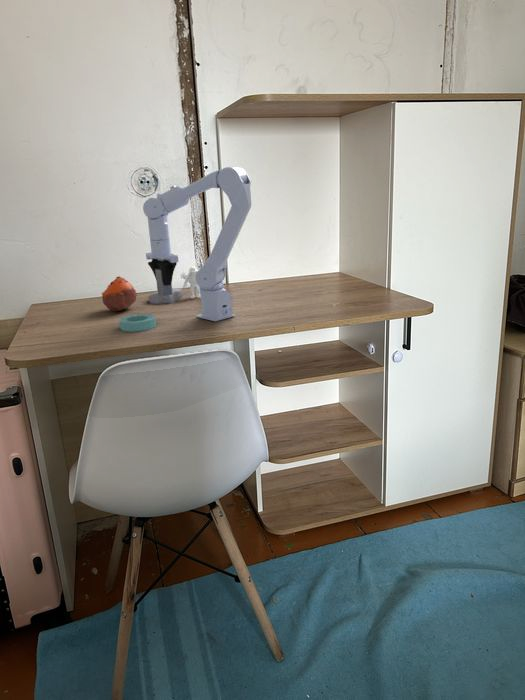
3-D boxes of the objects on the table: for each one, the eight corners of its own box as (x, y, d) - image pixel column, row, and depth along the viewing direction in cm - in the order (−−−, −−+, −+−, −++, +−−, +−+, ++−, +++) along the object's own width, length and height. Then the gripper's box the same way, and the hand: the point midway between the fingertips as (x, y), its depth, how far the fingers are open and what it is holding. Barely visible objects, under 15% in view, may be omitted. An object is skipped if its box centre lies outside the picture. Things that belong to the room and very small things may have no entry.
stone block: (148, 309, 188) (174, 303, 185) (144, 295, 187) (170, 289, 184) (160, 302, 199) (185, 297, 196) (157, 290, 198) (182, 284, 195)
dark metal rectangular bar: (172, 294, 166) (169, 268, 164) (163, 296, 164) (160, 270, 162) (166, 293, 169) (163, 267, 166) (158, 295, 166) (155, 269, 164)
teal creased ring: (162, 325, 157) (161, 317, 156) (132, 333, 151) (131, 324, 150) (144, 320, 164) (143, 312, 163) (114, 327, 158) (113, 319, 157)
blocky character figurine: (207, 295, 196) (204, 262, 192) (208, 297, 192) (205, 263, 188) (182, 297, 194) (179, 264, 191) (183, 299, 191) (179, 265, 187)
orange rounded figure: (126, 315, 172) (122, 279, 169) (97, 314, 175) (92, 279, 172) (143, 306, 184) (139, 272, 180) (115, 306, 186) (111, 273, 183)
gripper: (135, 239, 164) (140, 284, 168) (162, 242, 154) (166, 289, 158) (155, 237, 168) (159, 280, 173) (182, 239, 158) (186, 285, 162)
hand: (164, 284), depth 165 cm, fingers closed on dark metal rectangular bar, 3 cm apart
